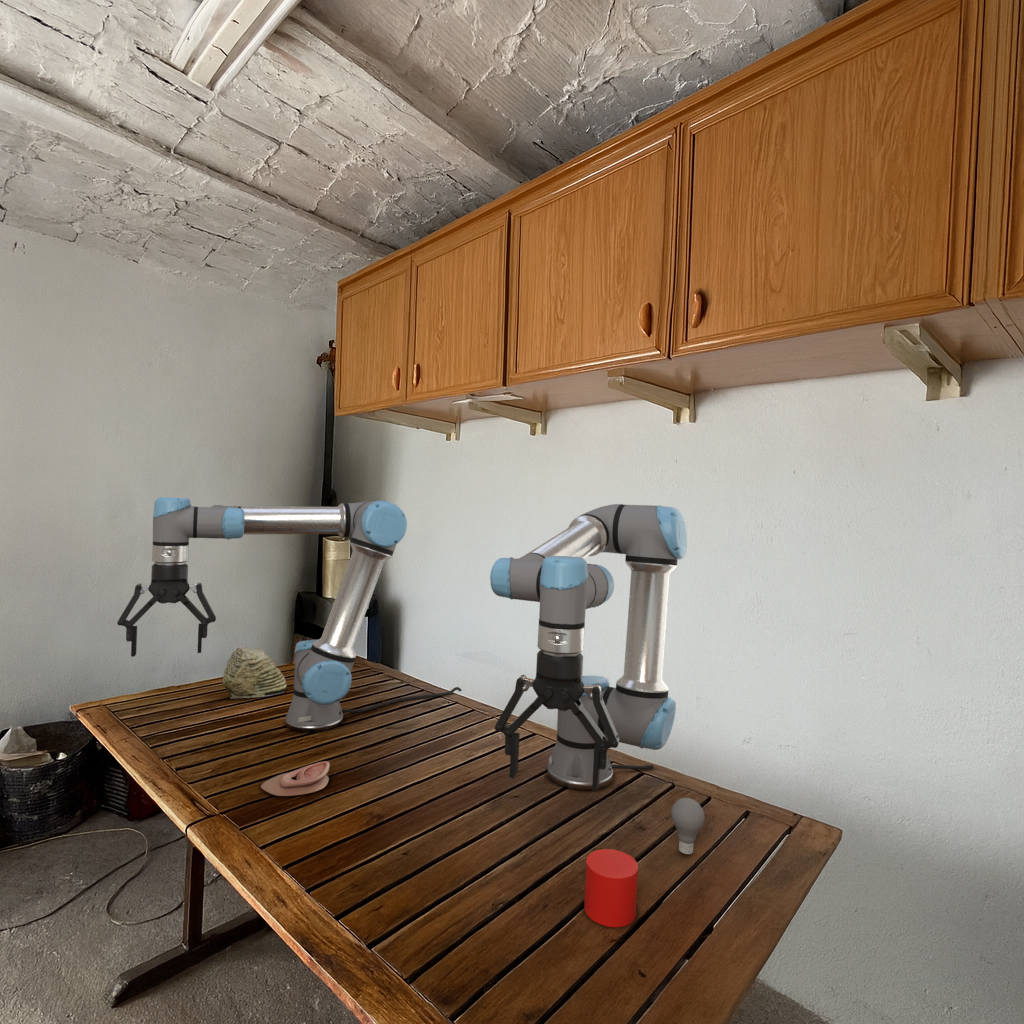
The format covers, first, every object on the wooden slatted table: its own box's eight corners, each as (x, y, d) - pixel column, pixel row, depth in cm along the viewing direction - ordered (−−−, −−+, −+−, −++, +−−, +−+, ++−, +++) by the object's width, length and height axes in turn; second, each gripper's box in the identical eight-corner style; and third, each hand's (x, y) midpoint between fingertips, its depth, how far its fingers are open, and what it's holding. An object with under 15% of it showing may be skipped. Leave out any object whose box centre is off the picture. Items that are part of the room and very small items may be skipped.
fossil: (218, 695, 195) (220, 647, 195) (278, 685, 208) (279, 640, 207) (228, 703, 189) (230, 653, 188) (289, 692, 201) (290, 645, 201)
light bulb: (664, 843, 121) (667, 792, 121) (695, 843, 121) (698, 792, 121) (675, 861, 115) (678, 807, 115) (707, 861, 115) (710, 807, 115)
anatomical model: (253, 773, 134) (283, 753, 145) (252, 792, 134) (282, 770, 145) (310, 782, 131) (336, 760, 142) (309, 801, 131) (335, 777, 143)
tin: (610, 934, 95) (612, 884, 95) (573, 905, 101) (575, 858, 101) (646, 915, 100) (648, 867, 100) (609, 888, 106) (611, 843, 106)
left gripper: (104, 565, 140) (101, 660, 140) (228, 564, 150) (225, 653, 150) (110, 561, 146) (107, 652, 147) (228, 561, 157) (225, 646, 157)
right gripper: (480, 648, 103) (474, 778, 103) (636, 665, 96) (629, 803, 97) (493, 639, 110) (487, 761, 110) (639, 654, 104) (632, 783, 104)
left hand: (167, 653), depth 149 cm, fingers open, 13 cm apart
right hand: (553, 781), depth 103 cm, fingers open, 13 cm apart
